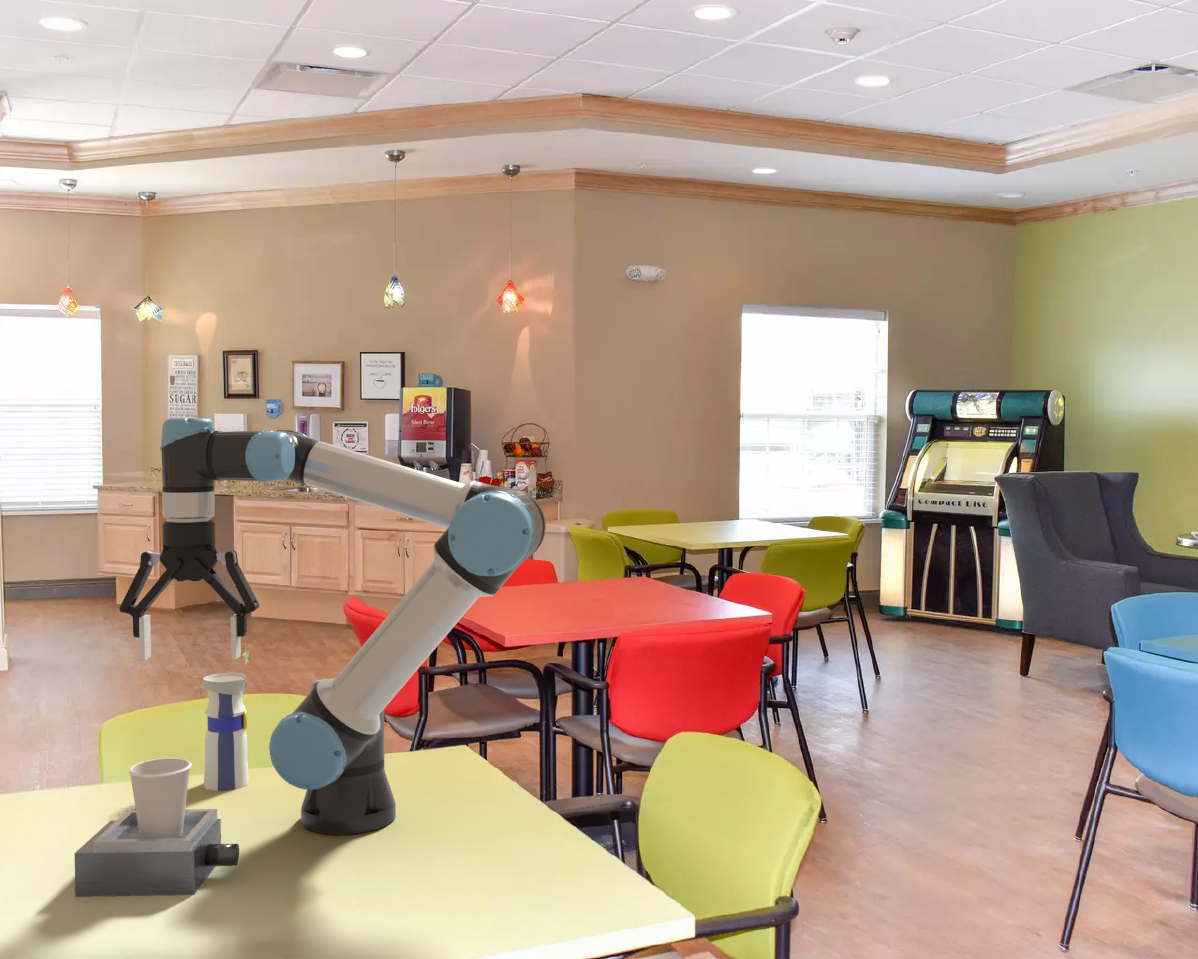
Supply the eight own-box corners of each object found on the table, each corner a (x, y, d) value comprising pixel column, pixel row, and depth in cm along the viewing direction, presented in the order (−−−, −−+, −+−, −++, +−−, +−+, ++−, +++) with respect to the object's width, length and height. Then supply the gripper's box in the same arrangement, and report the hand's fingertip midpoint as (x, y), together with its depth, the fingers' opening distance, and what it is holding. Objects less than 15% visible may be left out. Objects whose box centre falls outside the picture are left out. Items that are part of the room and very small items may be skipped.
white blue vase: (250, 774, 210) (248, 640, 209) (251, 788, 202) (250, 648, 201) (203, 778, 208) (201, 642, 207) (202, 792, 200) (200, 651, 199)
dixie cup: (154, 850, 156) (153, 778, 156) (117, 838, 161) (115, 768, 160) (205, 832, 163) (204, 763, 163) (167, 821, 168) (166, 754, 167)
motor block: (248, 858, 169) (247, 808, 169) (224, 893, 156) (223, 839, 156) (111, 860, 168) (110, 810, 168) (75, 896, 155) (74, 842, 155)
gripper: (277, 517, 177) (279, 652, 178) (114, 517, 176) (116, 653, 177) (266, 521, 170) (267, 662, 171) (95, 521, 169) (97, 663, 170)
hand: (190, 658), depth 174 cm, fingers open, 13 cm apart
